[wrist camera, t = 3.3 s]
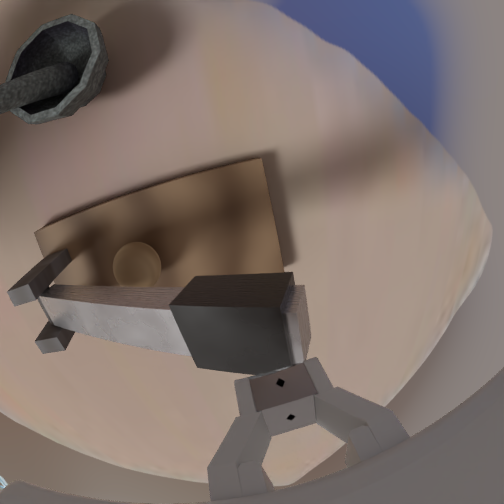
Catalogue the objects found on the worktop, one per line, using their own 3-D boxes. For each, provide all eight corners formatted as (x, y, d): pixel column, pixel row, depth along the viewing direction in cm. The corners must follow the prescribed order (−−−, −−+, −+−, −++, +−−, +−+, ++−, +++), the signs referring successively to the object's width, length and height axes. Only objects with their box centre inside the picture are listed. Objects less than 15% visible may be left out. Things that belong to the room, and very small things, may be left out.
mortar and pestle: (96, 24, 17) (50, -28, 6) (140, 77, 21) (100, 30, 10) (21, 98, 18) (-50, 88, 7) (58, 155, 21) (-17, 166, 10)
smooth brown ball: (129, 283, 26) (119, 306, 21) (113, 242, 24) (98, 260, 20) (170, 272, 26) (165, 294, 22) (155, 229, 24) (146, 245, 20)
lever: (73, 315, 21) (55, 332, 19) (54, 277, 19) (33, 292, 17) (312, 339, 13) (304, 378, 11) (303, 271, 12) (293, 307, 10)
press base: (84, 319, 28) (55, 376, 19) (42, 227, 24) (-10, 262, 14) (280, 269, 30) (313, 321, 21) (257, 157, 25) (288, 162, 16)
